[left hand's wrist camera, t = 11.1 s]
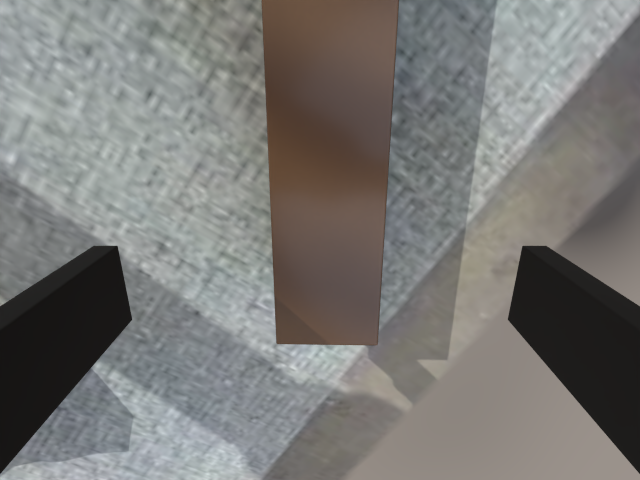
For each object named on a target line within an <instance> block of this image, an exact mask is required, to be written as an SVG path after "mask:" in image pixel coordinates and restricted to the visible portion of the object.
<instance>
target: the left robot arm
mask: <svg viewBox="0 0 640 480" xmlns="http://www.w3.org/2000/svg"><path fill="white" fill-rule="evenodd" d="M131 320H132V316H131V311H130V306H129V301H128V296H127V291H126V286H125V281H124V276H123V271H122V266H121V261H120V256H119V251H118V246H93V247H91V248H90V249H88V250H87V251H85V252H84V253H82V254H81V255H79V256H78V257H76V258H74V259H73V260H71V261H70V262H68V263H67V264H65V265H64V266H62V267H60V268H59V269H57V270H56V271H54V272H53V273H51V274H50V275H48V276H47V277H45V278H43V279H42V280H40V281H39V282H37V283H36V284H34V285H33V286H31V287H30V288H28V289H26V290H25V291H23V292H22V293H20V294H19V295H17V296H16V297H14V298H13V299H11V300H9V301H8V302H6V303H5V304H3V305H2V306H0V473H1V472H2V471H3V470H4V469H5V468H6V466H7V465H8V464H9V463H10V462H11V461H12V459H13V458H14V457H15V456H16V455H17V454H18V452H19V451H20V450H21V449H22V448H23V447H24V445H25V444H26V443H27V442H28V441H29V440H30V438H31V437H32V436H33V435H34V434H35V433H36V431H37V430H38V429H39V428H40V427H41V426H42V424H43V423H44V422H45V421H46V420H47V419H48V417H49V416H50V415H51V414H52V413H53V412H54V410H55V409H56V408H57V407H58V406H59V404H60V403H61V402H62V401H63V400H64V399H65V397H66V396H67V395H68V394H69V393H70V392H71V390H72V389H73V388H74V387H75V386H76V385H77V383H78V382H79V381H80V380H81V379H82V378H83V376H84V375H85V374H86V373H87V372H88V371H89V369H90V368H91V367H92V366H93V365H94V364H95V362H96V361H97V360H98V359H99V358H100V357H101V355H102V354H103V353H104V352H105V351H106V350H107V348H108V347H109V346H110V345H111V344H112V342H113V341H114V340H115V339H116V338H117V337H118V335H119V334H120V333H121V332H122V331H123V330H124V328H125V327H126V326H127V325H128V324H129V323H130V321H131ZM508 320H509V321H510V323H511V324H512V325H513V326H514V327H515V328H516V330H517V331H518V332H519V333H520V334H521V335H522V337H523V338H524V339H525V340H526V341H527V342H528V344H529V345H530V346H531V347H532V348H533V350H534V351H535V352H536V353H537V354H538V355H539V356H540V358H541V359H542V360H543V361H544V362H545V364H546V365H547V366H548V367H549V368H550V369H551V371H552V372H553V373H554V374H555V375H556V376H557V378H558V379H559V380H560V381H561V382H562V383H563V385H564V386H565V387H566V388H567V389H568V390H569V392H570V393H571V394H572V395H573V396H574V397H575V399H576V400H577V401H578V402H579V403H580V404H581V406H582V407H583V408H584V409H585V410H586V412H587V413H588V414H589V415H590V416H591V417H592V419H593V420H594V421H595V422H596V423H597V424H598V425H599V427H600V428H601V429H602V430H603V431H604V433H605V434H606V435H607V436H608V437H609V438H610V439H611V441H612V442H613V443H614V444H615V445H616V447H617V448H618V449H619V450H620V451H621V452H622V454H623V455H624V456H625V457H626V458H627V459H628V461H629V462H630V463H631V464H632V465H633V466H634V468H635V469H636V470H637V471H638V472H639V473H640V306H638V305H637V304H635V303H634V302H632V301H630V300H629V299H627V298H626V297H624V296H623V295H621V294H620V293H618V292H617V291H615V290H614V289H612V288H610V287H609V286H607V285H606V284H604V283H603V282H601V281H600V280H598V279H596V278H595V277H593V276H592V275H590V274H589V273H587V272H586V271H584V270H583V269H581V268H579V267H578V266H576V265H575V264H573V263H572V262H570V261H569V260H567V259H566V258H564V257H562V256H561V255H559V254H558V253H556V252H555V251H553V250H552V249H550V248H549V247H547V246H522V251H521V256H520V261H519V266H518V271H517V276H516V281H515V286H514V291H513V296H512V301H511V306H510V311H509V317H508Z"/></svg>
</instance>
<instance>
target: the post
mask: <svg viewBox="0 0 640 480" xmlns="http://www.w3.org/2000/svg"><path fill="white" fill-rule="evenodd" d="M398 8H399V0H262V19H263V42H264V65H265V88H266V112H267V135H268V158H269V181H270V204H271V227H272V251H273V274H274V297H275V320H276V343H277V344H317V345H377V344H378V329H379V313H380V297H381V281H382V265H383V249H384V233H385V217H386V201H387V185H388V168H389V152H390V136H391V120H392V104H393V88H394V72H395V56H396V40H397V24H398Z"/></svg>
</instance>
